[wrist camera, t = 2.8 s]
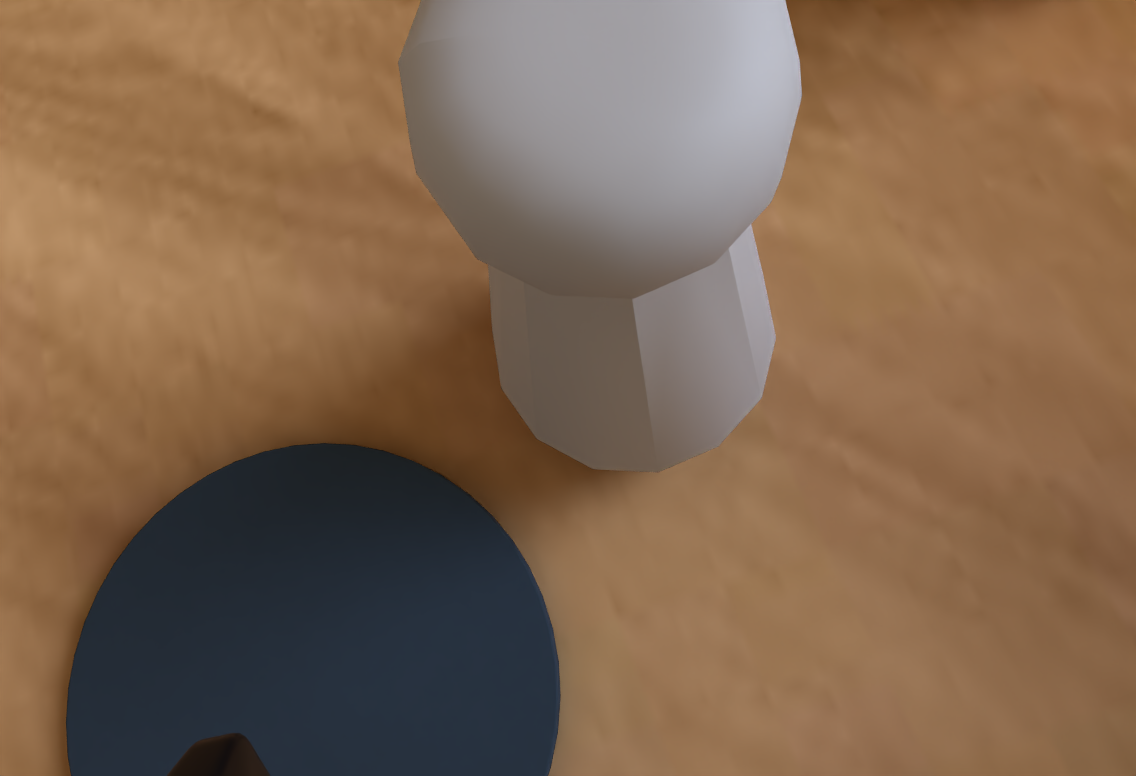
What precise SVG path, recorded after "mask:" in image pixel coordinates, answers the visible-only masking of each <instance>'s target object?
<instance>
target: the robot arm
mask: <svg viewBox="0 0 1136 776" xmlns="http://www.w3.org/2000/svg"><path fill="white" fill-rule="evenodd" d="M167 776H270V774H269V773H268V771H267V769H266V768H265V766H264V764H263V763H262V761H261V759H260V758H259V756H258V754H257V753H256V751H255V749H254V748H253V746H252V744H251V743H250V741H249V740H248V739H247V737H245V736H244V735H242V734H240V733H230V734H225V735H220V736H215V737H210V738H205V739H202V740H199V741H197V742H196V743H195V744H193V745H192V746H191V747H190V748H189V749H188V750H187V751H186V753H185V754H184V755H183V756H182V757H181V759H180V760H179V761H178V762H177V764H176V765H175V766H174V767H173V768H172V770H171V771H170V772H169V773H168V775H167Z"/></svg>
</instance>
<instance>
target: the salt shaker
mask: <svg viewBox="0 0 1136 776" xmlns="http://www.w3.org/2000/svg"><path fill="white" fill-rule="evenodd" d="M398 64H399V71H400V78H401V84H402V91H403V98H404V105H405V112H406V118H407V125H408V132H409V139H410V144H411V149H412V154H413V159H414V165H415V170H416V173H417V175H418V176H419V178H420V179H421V180H422V182H423V183H424V185H425V186H426V188H427V189H428V190H429V192H430V193H431V195H432V196H433V198H434V199H435V200H436V202H437V203H438V205H439V206H440V207H441V209H442V210H443V212H444V213H445V215H446V216H447V217H448V219H449V220H450V222H451V223H452V224H453V226H454V227H455V229H456V230H457V231H458V233H459V234H460V236H461V237H462V239H463V240H464V241H465V243H466V244H467V246H468V247H469V248H470V250H471V251H472V253H473V254H474V255H475V257H476V258H477V259H478V260H480V261H482V262H484V263H486V264H488V270H489V286H490V303H491V319H492V331H493V338H494V344H495V351H496V357H497V363H498V370H499V376H500V383H501V389H502V390H503V391H504V393H505V394H506V396H507V397H508V399H509V400H510V401H511V403H512V404H513V406H514V407H515V409H516V410H517V411H518V413H519V414H520V416H521V417H522V419H523V420H524V421H525V423H526V424H527V426H528V427H529V429H530V430H531V431H532V433H533V434H534V436H535V437H536V439H538V440H540V441H542V442H544V443H545V444H547V445H549V446H551V447H553V448H555V449H557V450H558V451H560V452H562V453H564V454H566V455H568V456H570V457H571V458H573V459H575V460H577V461H579V462H581V463H583V464H584V465H586V466H588V467H590V468H592V469H600V470H620V471H639V472H660V471H663V470H665V469H667V468H670V467H672V466H674V465H677V464H679V463H681V462H684V461H686V460H688V459H690V458H693V457H695V456H697V455H700V454H702V453H704V452H707V451H709V450H711V449H714V448H716V447H718V446H719V445H720V444H721V443H722V442H723V441H724V439H725V438H726V437H727V436H728V435H729V434H730V433H731V432H732V431H733V429H734V428H735V427H736V426H737V425H738V424H739V423H740V422H741V421H742V419H743V418H744V417H745V416H746V415H747V414H748V413H749V412H750V411H751V409H752V408H753V407H754V406H755V405H756V404H757V403H758V402H759V401H760V399H761V398H762V394H763V390H764V386H765V382H766V378H767V373H768V369H769V365H770V361H771V356H772V352H773V348H774V344H775V340H776V336H775V331H774V326H773V321H772V316H771V311H770V306H769V301H768V296H767V292H766V287H765V282H764V277H763V273H762V268H761V264H760V260H759V256H758V252H757V247H756V243H755V239H754V235H753V231H752V226H751V223H752V222H753V221H754V220H755V219H756V218H757V217H758V216H759V215H760V214H761V213H762V212H763V210H764V209H765V208H766V207H767V206H768V205H769V204H770V203H771V201H772V199H773V196H774V194H775V192H776V189H777V187H778V184H779V182H780V180H781V177H782V173H783V169H784V165H785V161H786V157H787V153H788V149H789V145H790V141H791V137H792V133H793V129H794V125H795V121H796V117H797V113H798V109H799V105H800V101H801V97H802V89H801V74H800V60H799V56H798V52H797V48H796V43H795V39H794V35H793V31H792V27H791V22H790V18H789V14H788V10H787V6H786V1H785V0H421V2H420V5H419V8H418V10H417V13H416V16H415V18H414V21H413V24H412V26H411V29H410V32H409V34H408V37H407V40H406V42H405V45H404V48H403V50H402V53H401V56H400V58H399V61H398Z"/></svg>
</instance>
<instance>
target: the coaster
mask: <svg viewBox="0 0 1136 776" xmlns="http://www.w3.org/2000/svg"><path fill="white" fill-rule="evenodd" d="M559 709H560V678H559V661H558V655H557V650H556V644H555V638H554V633H553V628H552V624H551V621H550V618H549V615H548V612H547V608H546V605H545V602H544V599H543V596H542V594H541V591H540V589H539V587H538V585H537V583H536V581H535V578H534V576H533V574H532V572H531V570H530V567H529V566H528V564H527V562H526V561H525V559H524V558H523V556H522V554H521V553H520V551H519V550H518V548H517V547H516V545H515V543H514V542H513V540H512V539H511V538H510V536H509V535H508V534H507V533H506V532H505V530H504V529H503V528H502V527H501V526H500V524H499V523H498V522H497V521H496V520H495V518H494V517H493V516H492V515H491V514H490V513H489V512H488V511H487V510H486V509H485V508H484V507H482V506H481V505H480V504H479V503H478V502H477V501H476V500H475V499H474V498H473V497H472V496H470V495H469V494H468V493H467V492H465V491H464V490H462V489H461V488H459V487H458V486H456V485H455V484H454V483H452V482H451V481H449V480H448V479H446V478H445V477H443V476H442V475H440V474H438V473H436V472H434V471H432V470H430V469H428V468H426V467H424V466H422V465H420V464H418V463H416V462H414V461H412V460H409V459H406V458H403V457H401V456H398V455H395V454H392V453H389V452H386V451H382V450H377V449H372V448H367V447H362V446H357V445H346V444H329V443H320V444H307V445H294V446H289V447H284V448H279V449H275V450H270V451H265V452H262V453H259V454H256V455H253V456H250V457H247V458H244V459H242V460H239V461H236V462H234V463H232V464H230V465H227V466H225V467H223V468H221V469H219V470H217V471H215V472H213V473H211V474H209V475H207V476H206V477H204V478H203V479H201V480H200V481H198V482H197V483H195V484H193V485H192V486H190V487H189V488H187V489H186V490H184V491H183V492H181V493H180V494H179V495H178V496H176V497H175V498H174V499H173V500H172V501H170V502H169V503H168V504H167V505H166V506H164V507H163V508H162V509H161V510H160V511H159V512H157V513H156V514H155V515H154V516H153V517H152V518H151V519H150V521H149V522H148V523H147V524H146V525H145V526H144V527H143V528H142V529H141V530H140V531H139V532H138V533H137V534H136V535H135V537H134V538H133V539H132V540H131V542H130V543H129V544H128V546H127V547H126V548H125V550H124V551H123V552H122V554H121V555H120V557H119V558H118V559H117V561H116V562H115V563H114V565H113V567H112V568H111V570H110V572H109V574H108V575H107V577H106V579H105V580H104V582H103V584H102V586H101V587H100V589H99V591H98V593H97V595H96V597H95V600H94V602H93V604H92V606H91V609H90V611H89V613H88V616H87V618H86V620H85V623H84V626H83V629H82V632H81V635H80V639H79V642H78V645H77V648H76V652H75V655H74V660H73V666H72V671H71V677H70V682H69V687H68V700H67V715H66V731H67V751H68V760H69V766H70V772H71V776H167V775H168V773H169V772H170V771H171V770H172V768H173V767H174V766H175V765H176V764H177V762H178V761H179V760H180V759H181V757H182V756H183V755H184V754H185V753H186V751H187V750H188V749H189V748H190V747H191V746H192V745H193V744H195V743H196V742H197V741H199V740H202V739H205V738H210V737H215V736H220V735H225V734H230V733H240V734H242V735H244V736H245V737H247V739H248V740H249V741H250V743H251V744H252V746H253V748H254V749H255V751H256V753H257V754H258V756H259V758H260V759H261V761H262V763H263V764H264V766H265V768H266V769H267V771H268V773H269V774H270V776H548V774H549V771H550V768H551V764H552V759H553V754H554V749H555V744H556V739H557V734H558V723H559Z"/></svg>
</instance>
